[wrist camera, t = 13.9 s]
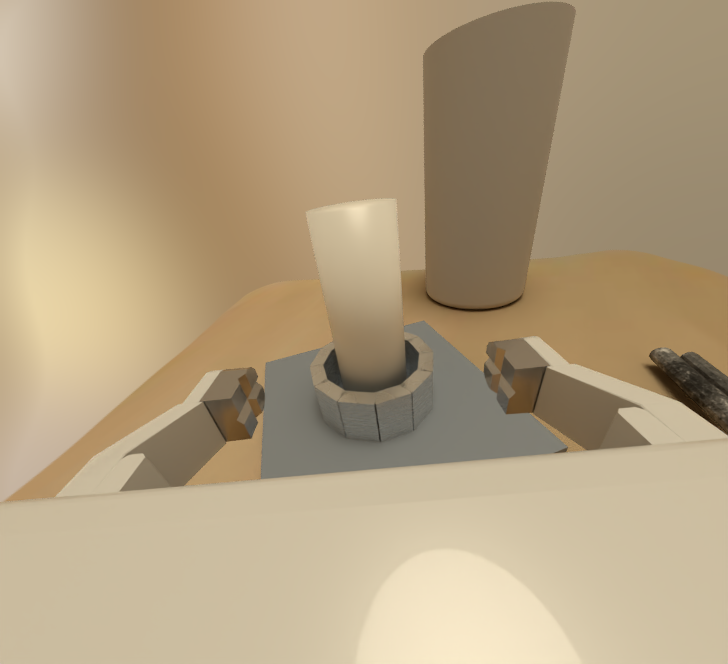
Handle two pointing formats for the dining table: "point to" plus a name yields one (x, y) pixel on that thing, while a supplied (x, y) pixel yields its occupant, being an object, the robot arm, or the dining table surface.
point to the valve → (697, 381)
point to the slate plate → (421, 447)
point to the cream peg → (362, 290)
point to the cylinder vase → (489, 149)
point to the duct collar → (376, 396)
